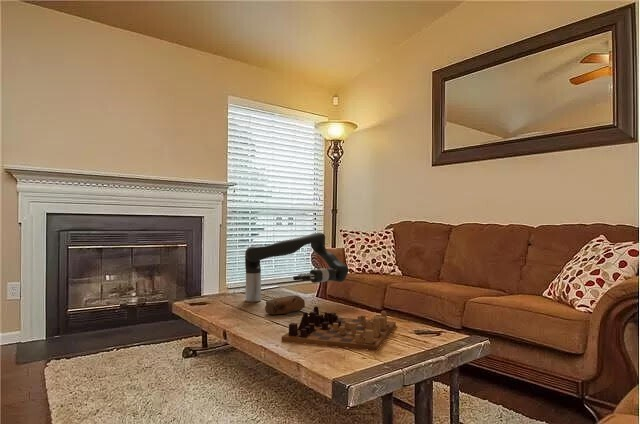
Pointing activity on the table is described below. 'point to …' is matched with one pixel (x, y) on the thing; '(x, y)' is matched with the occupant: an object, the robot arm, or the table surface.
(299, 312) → the mat
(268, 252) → the robot arm
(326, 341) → the gameboard
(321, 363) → the table surface
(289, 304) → the block
